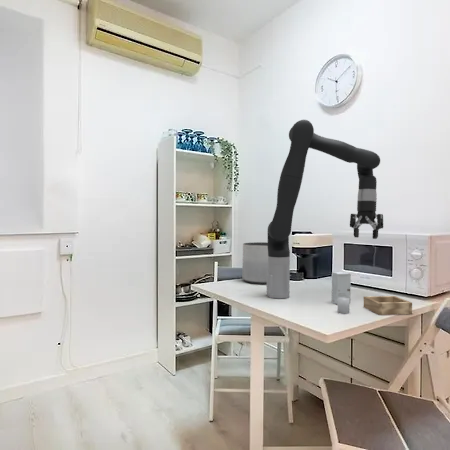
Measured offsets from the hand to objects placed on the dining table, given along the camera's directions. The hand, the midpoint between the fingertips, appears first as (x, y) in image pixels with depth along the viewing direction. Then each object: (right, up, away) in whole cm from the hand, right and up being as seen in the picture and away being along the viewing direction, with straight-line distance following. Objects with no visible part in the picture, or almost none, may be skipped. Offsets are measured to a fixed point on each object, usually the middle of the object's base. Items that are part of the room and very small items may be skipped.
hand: (365, 238), depth 144 cm
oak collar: (-1, -26, -21) cm, 33 cm away
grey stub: (-18, -26, -24) cm, 39 cm away
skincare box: (-14, -26, -11) cm, 31 cm away
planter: (-40, -25, +36) cm, 59 cm away
